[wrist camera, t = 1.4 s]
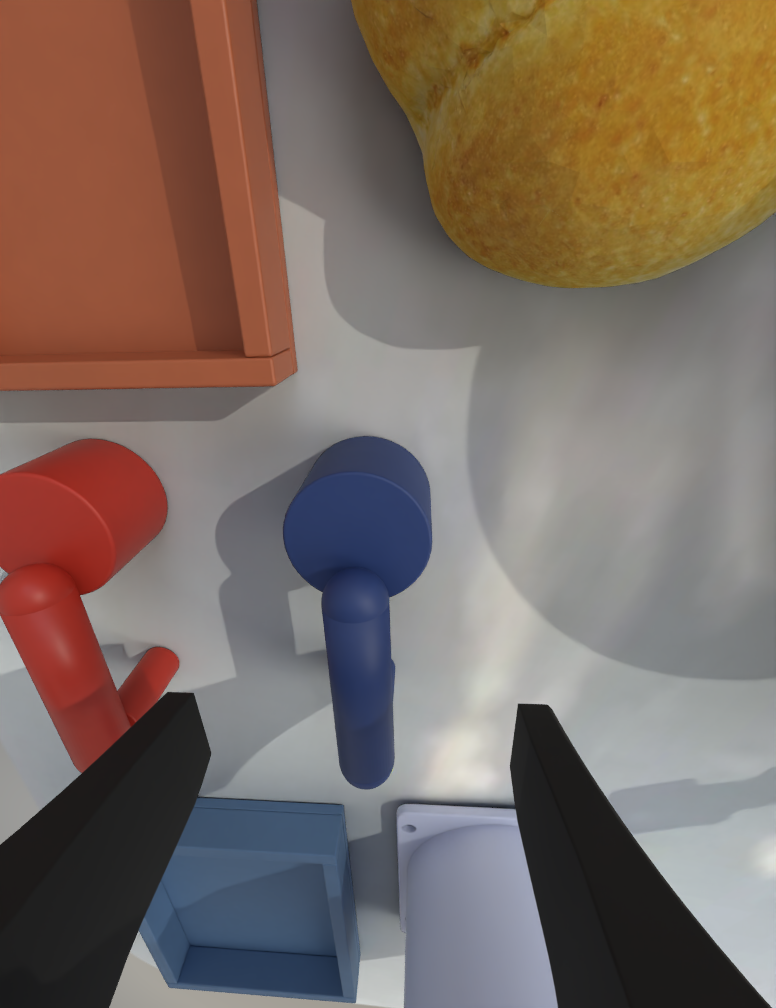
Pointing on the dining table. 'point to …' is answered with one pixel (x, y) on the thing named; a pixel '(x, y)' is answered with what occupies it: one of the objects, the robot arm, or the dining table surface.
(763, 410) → the dining table surface
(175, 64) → the orange-brown tray
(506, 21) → the bread roll
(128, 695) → the red toy mallet
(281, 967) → the blue tray
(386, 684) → the blue plastic mallet
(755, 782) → the dining table surface
